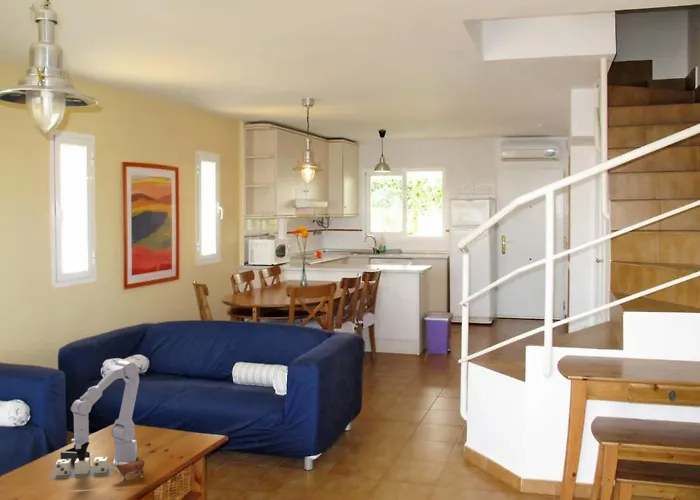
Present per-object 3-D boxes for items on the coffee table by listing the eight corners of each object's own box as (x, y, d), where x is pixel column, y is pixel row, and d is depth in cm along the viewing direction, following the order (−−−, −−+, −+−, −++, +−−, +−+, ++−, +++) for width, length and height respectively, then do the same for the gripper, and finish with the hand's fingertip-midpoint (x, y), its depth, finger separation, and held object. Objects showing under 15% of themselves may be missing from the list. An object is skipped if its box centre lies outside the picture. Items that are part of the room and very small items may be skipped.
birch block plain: (89, 469, 308) (89, 457, 308) (87, 473, 303) (87, 461, 303) (77, 470, 307) (77, 458, 307) (74, 474, 302) (74, 462, 302)
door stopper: (60, 465, 314) (80, 470, 309) (60, 452, 313) (80, 456, 308) (76, 459, 322) (96, 463, 317) (76, 446, 322) (96, 450, 316)
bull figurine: (110, 480, 297) (110, 460, 296) (144, 475, 302) (143, 456, 302) (111, 484, 293) (111, 464, 292) (145, 478, 298) (145, 459, 298)
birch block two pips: (108, 468, 309) (107, 456, 309) (106, 472, 304) (105, 460, 304) (95, 468, 308) (95, 457, 308) (93, 473, 303) (93, 461, 303)
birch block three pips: (71, 470, 306) (70, 458, 306) (68, 474, 301) (68, 462, 301) (58, 471, 306) (58, 459, 305) (55, 475, 301) (55, 463, 300)
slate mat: (114, 466, 313) (114, 465, 313) (109, 476, 301) (109, 475, 301) (55, 470, 309) (55, 468, 309) (49, 480, 297) (48, 478, 297)
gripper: (74, 424, 310) (75, 455, 311) (67, 434, 296) (68, 466, 297) (92, 423, 312) (92, 454, 312) (85, 433, 297) (86, 465, 298)
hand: (81, 460), depth 305 cm, fingers closed, pressing on birch block plain
